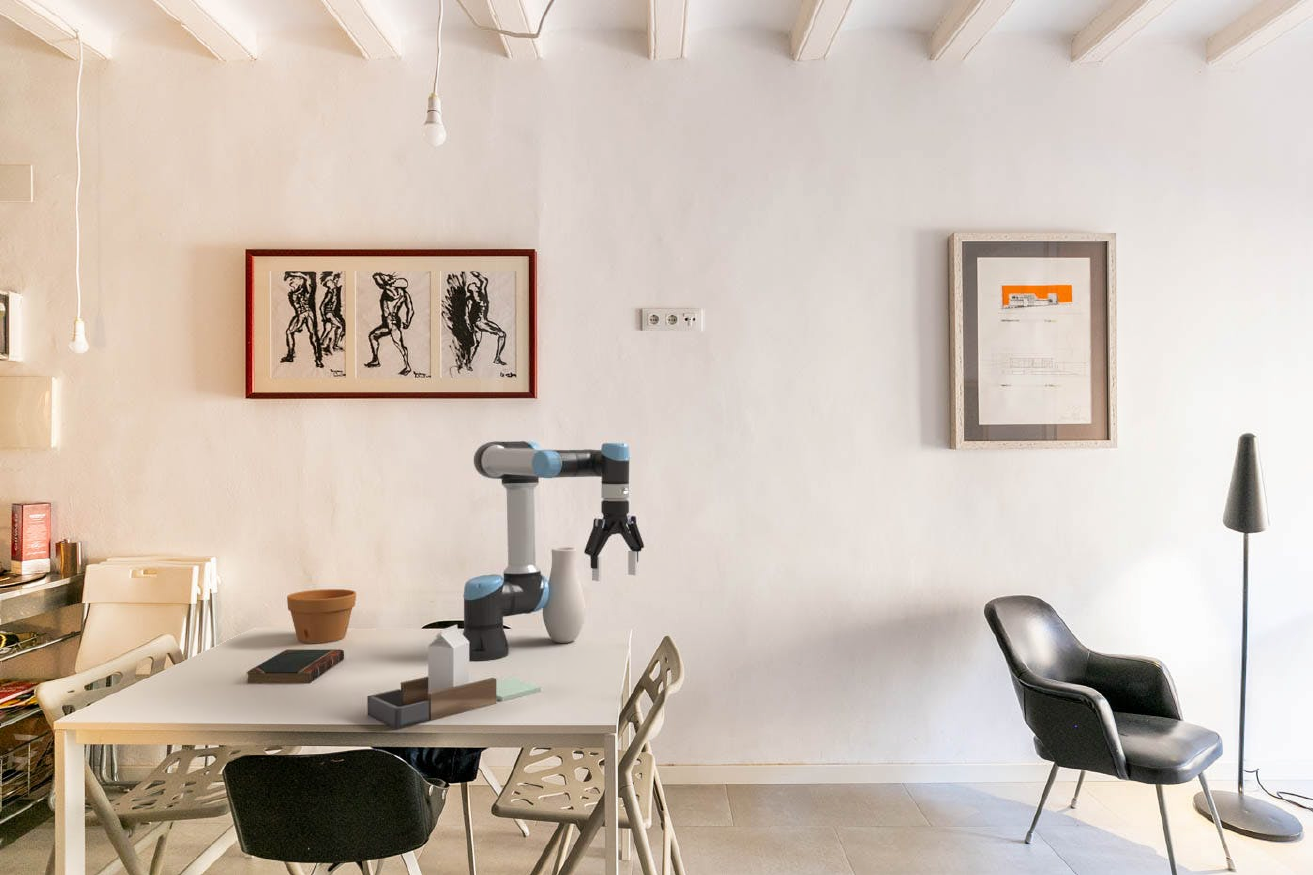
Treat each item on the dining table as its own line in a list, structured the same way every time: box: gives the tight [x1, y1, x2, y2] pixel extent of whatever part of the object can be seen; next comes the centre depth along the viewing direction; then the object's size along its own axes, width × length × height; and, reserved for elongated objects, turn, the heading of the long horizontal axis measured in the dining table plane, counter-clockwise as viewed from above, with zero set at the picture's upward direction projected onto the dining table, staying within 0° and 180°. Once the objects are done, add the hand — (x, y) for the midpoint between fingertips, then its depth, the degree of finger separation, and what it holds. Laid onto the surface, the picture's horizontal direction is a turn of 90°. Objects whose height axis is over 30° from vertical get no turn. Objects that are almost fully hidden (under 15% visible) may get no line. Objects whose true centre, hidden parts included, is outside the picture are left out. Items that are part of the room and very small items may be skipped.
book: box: [246, 649, 345, 684], centre depth 235 cm, size 17×4×25 cm
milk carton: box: [427, 624, 470, 693], centre depth 203 cm, size 7×7×19 cm
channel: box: [400, 676, 497, 721], centre depth 203 cm, size 14×18×6 cm
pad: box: [496, 677, 542, 702], centre depth 215 cm, size 13×12×1 cm
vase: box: [542, 546, 586, 644], centre depth 270 cm, size 14×14×30 cm
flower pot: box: [286, 588, 357, 644], centre depth 274 cm, size 21×21×15 cm
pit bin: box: [366, 688, 430, 730], centre depth 194 cm, size 14×8×4 cm, turn 45°
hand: (614, 577), depth 226 cm, fingers open, 13 cm apart
